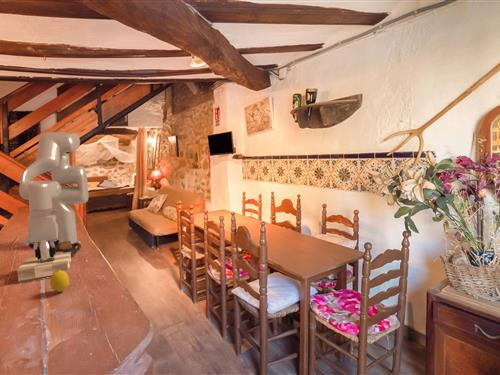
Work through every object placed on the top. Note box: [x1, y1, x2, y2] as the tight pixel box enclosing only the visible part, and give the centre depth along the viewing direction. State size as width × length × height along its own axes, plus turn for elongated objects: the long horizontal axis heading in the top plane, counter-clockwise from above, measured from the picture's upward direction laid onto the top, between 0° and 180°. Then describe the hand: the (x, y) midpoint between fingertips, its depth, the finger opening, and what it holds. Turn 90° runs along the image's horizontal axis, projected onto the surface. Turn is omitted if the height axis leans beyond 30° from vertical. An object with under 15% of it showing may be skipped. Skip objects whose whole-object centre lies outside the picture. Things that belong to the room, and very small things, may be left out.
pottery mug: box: [55, 241, 82, 256], centre depth 143 cm, size 12×10×8 cm
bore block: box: [17, 252, 72, 284], centre depth 122 cm, size 16×16×5 cm
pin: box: [38, 240, 52, 263], centre depth 122 cm, size 4×4×12 cm
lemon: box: [50, 270, 70, 293], centre depth 103 cm, size 6×6×8 cm
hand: (45, 257), depth 122 cm, fingers closed on pin, 4 cm apart
